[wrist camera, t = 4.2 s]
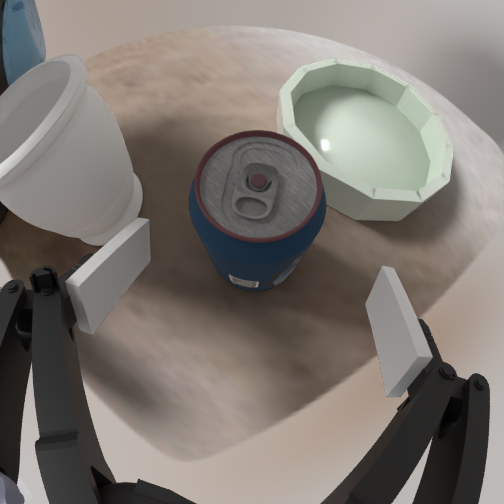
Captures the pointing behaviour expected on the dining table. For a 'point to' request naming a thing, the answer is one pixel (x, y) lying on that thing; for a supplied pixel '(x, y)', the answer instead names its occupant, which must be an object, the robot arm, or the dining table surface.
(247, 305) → the dining table surface
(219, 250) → the soda can
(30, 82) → the jar
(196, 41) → the dining table surface
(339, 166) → the bowl
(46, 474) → the robot arm
